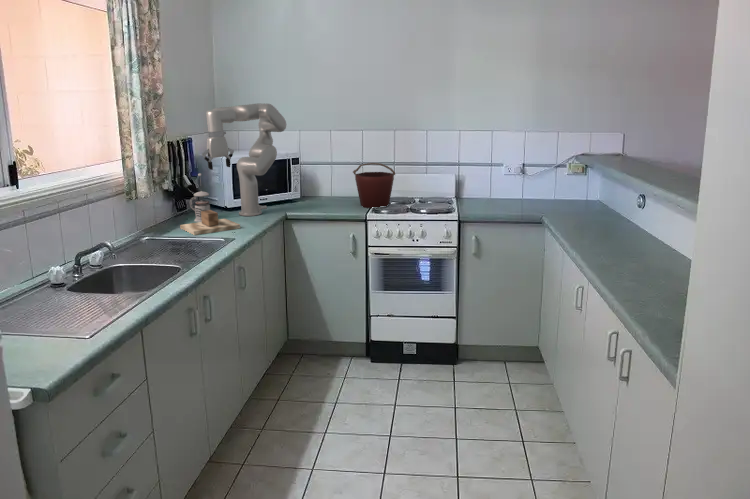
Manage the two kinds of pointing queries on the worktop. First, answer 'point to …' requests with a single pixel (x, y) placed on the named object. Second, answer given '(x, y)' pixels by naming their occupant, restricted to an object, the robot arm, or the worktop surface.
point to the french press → (200, 204)
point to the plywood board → (203, 229)
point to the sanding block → (209, 218)
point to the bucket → (374, 187)
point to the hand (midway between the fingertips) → (219, 168)
